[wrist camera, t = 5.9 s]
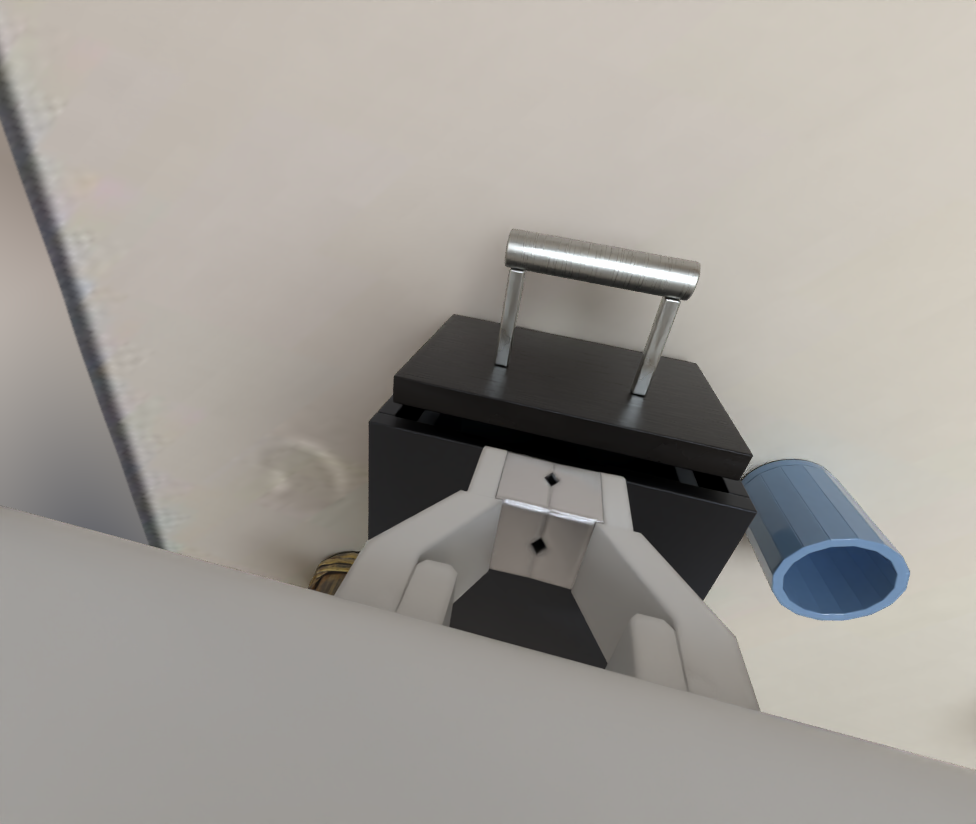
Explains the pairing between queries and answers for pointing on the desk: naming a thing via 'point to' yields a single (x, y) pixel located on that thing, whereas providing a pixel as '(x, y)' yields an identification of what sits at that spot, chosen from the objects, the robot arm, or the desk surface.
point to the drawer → (578, 374)
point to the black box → (522, 600)
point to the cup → (820, 544)
